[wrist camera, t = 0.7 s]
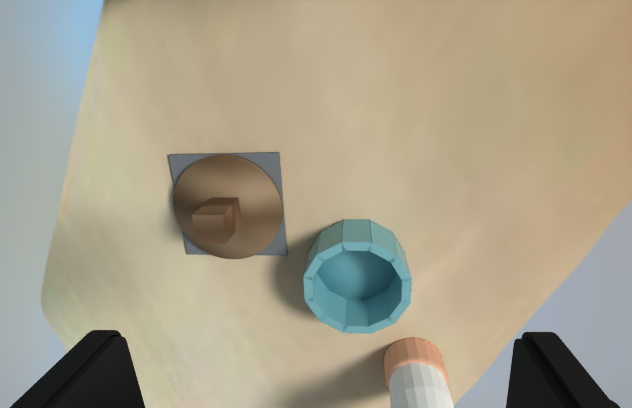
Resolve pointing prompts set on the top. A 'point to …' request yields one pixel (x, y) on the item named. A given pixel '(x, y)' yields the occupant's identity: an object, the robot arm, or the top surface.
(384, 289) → the bowl
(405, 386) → the salt shaker
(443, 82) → the top surface
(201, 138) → the top surface
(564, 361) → the robot arm
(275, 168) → the mat
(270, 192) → the lid
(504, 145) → the top surface
